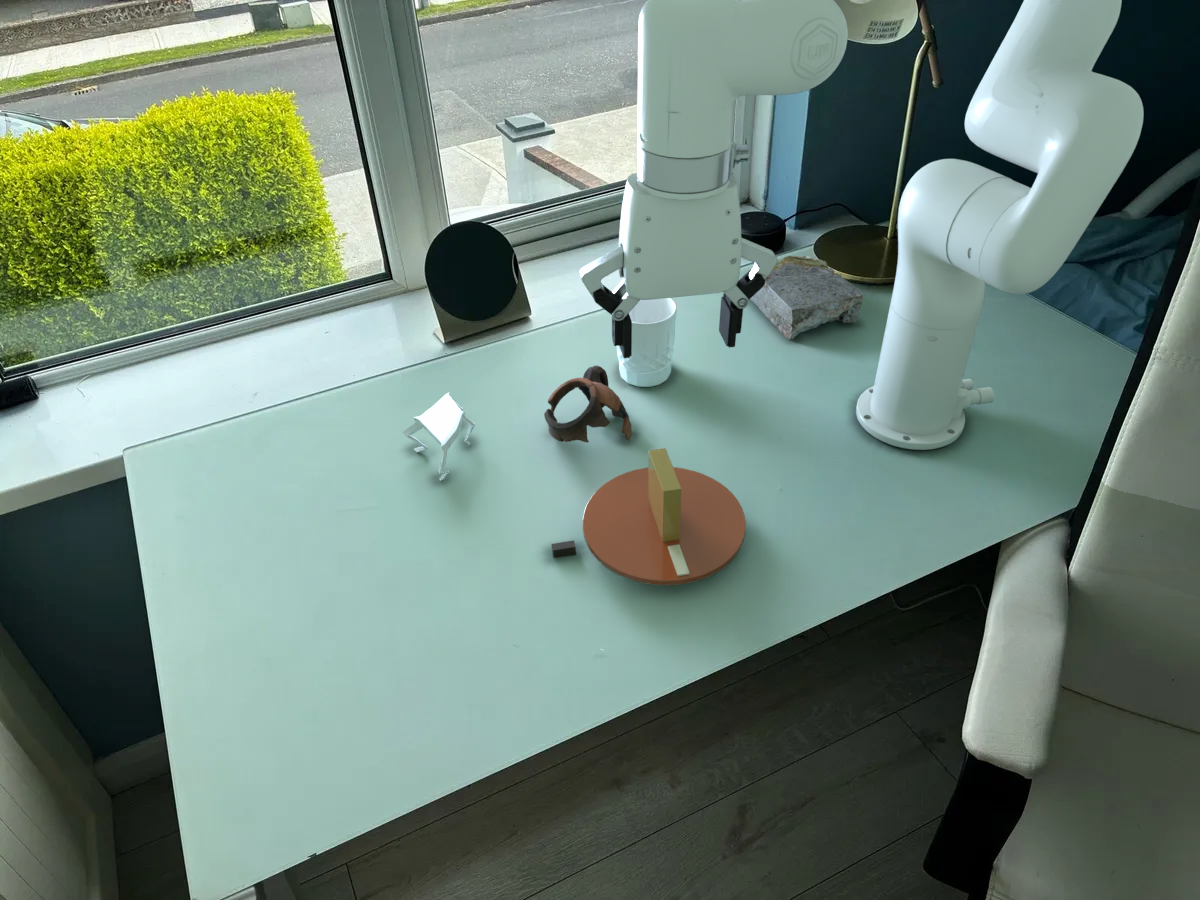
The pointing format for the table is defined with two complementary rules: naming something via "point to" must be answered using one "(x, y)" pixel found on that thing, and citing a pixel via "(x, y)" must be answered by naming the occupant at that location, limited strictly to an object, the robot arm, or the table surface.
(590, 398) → the pottery mug
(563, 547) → the dark grey rectangular block
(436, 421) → the origami figure
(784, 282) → the geological specimen
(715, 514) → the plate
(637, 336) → the white cup
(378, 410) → the table surface
